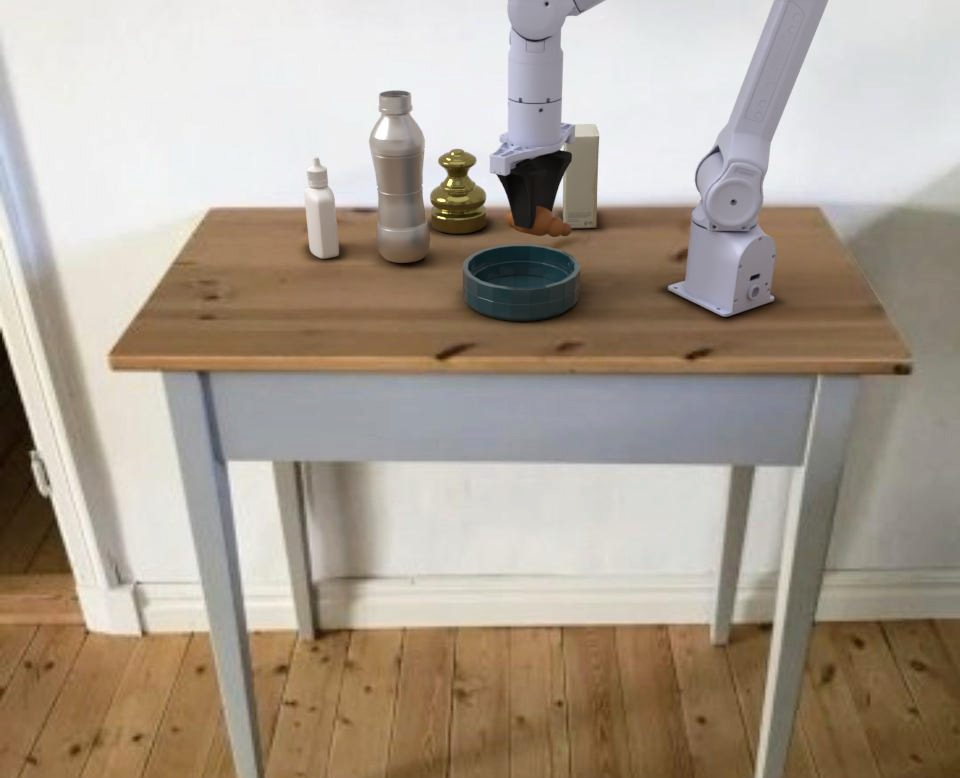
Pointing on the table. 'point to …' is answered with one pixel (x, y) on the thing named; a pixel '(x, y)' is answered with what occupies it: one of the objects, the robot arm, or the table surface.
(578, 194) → the cosmetic box
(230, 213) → the table surface
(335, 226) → the eye dropper bottle
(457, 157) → the gold tiered knob
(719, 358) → the table surface
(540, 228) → the croissant
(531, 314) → the bowl
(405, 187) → the plastic bottle
